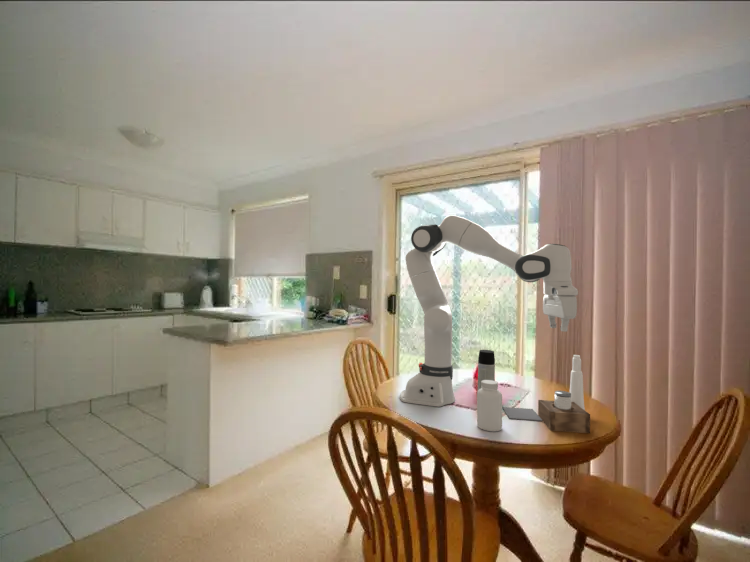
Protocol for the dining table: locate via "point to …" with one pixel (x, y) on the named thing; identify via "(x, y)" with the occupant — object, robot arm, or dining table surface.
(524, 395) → the dining table surface
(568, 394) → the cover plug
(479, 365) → the spray can
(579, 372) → the cosmetic bottle
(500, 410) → the pill bottle
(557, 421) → the socket block
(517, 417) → the mat
